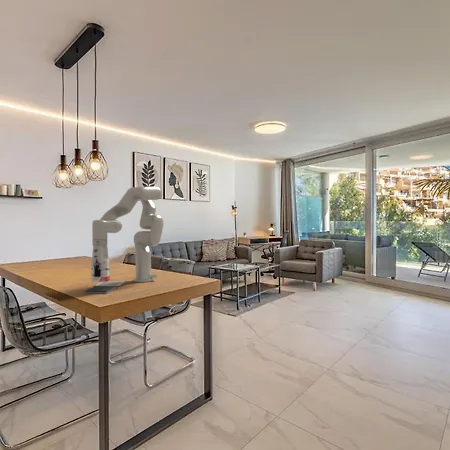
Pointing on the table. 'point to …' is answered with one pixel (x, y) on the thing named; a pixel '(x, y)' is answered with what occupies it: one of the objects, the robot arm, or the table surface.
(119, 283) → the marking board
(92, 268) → the ink box
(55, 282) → the table surface
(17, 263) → the table surface
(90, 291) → the pad
